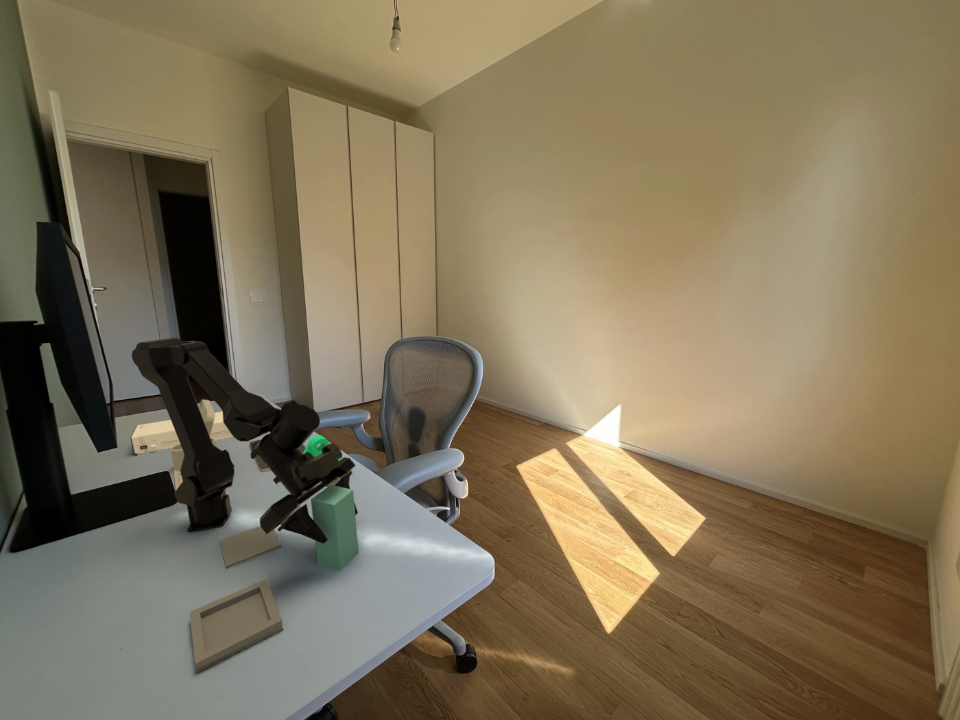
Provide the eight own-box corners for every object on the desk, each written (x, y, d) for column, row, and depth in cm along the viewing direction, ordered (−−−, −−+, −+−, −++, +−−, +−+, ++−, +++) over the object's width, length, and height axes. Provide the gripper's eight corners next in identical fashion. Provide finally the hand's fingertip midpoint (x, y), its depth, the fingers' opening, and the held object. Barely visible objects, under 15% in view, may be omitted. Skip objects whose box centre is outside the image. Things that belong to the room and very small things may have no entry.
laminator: (263, 421, 141) (261, 404, 140) (267, 432, 131) (265, 414, 130) (140, 443, 123) (136, 425, 122) (133, 458, 113) (129, 438, 112)
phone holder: (173, 467, 107) (161, 404, 103) (217, 456, 113) (208, 396, 109) (176, 495, 94) (163, 423, 90) (226, 481, 100) (215, 413, 96)
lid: (226, 571, 71) (226, 566, 70) (220, 544, 77) (219, 540, 77) (281, 549, 76) (281, 544, 76) (271, 526, 83) (270, 522, 83)
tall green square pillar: (318, 564, 71) (310, 499, 69) (336, 546, 76) (330, 485, 73) (340, 570, 70) (334, 504, 67) (358, 552, 74) (353, 489, 72)
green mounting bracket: (304, 491, 95) (300, 452, 93) (295, 479, 101) (291, 441, 99) (353, 475, 103) (350, 438, 101) (342, 464, 109) (339, 429, 106)
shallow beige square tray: (191, 620, 60) (189, 611, 60) (267, 586, 66) (266, 578, 66) (197, 673, 52) (195, 663, 52) (282, 629, 58) (281, 620, 58)
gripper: (263, 460, 61) (328, 539, 59) (344, 418, 78) (395, 479, 76) (233, 496, 65) (293, 571, 64) (315, 449, 82) (364, 507, 81)
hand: (341, 527), depth 71 cm, fingers open, 8 cm apart
